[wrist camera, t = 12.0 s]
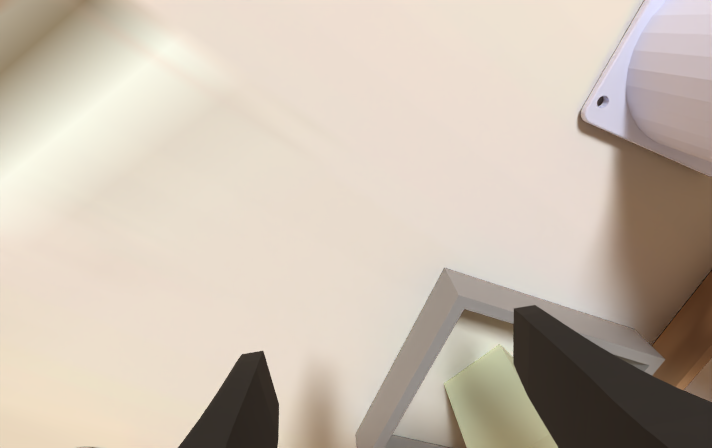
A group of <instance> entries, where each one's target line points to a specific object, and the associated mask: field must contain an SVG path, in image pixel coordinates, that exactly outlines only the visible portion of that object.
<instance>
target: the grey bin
mask: <svg viewBox="0 0 712 448" xmlns="http://www.w3.org/2000/svg"><path fill="white" fill-rule="evenodd" d="M531 305H536V306H537V307H539V308H541V309H542V310H544V311H545V312H547V313H548V314H550V315H551V316H553V317H554V318H556V319H557V320H559V321H560V322H562V323H563V324H565V325H567V326H568V327H570V328H571V329H573V330H574V331H576V332H577V333H579V334H580V335H582V336H584V337H585V338H587V339H588V340H590V341H591V342H593V343H595V344H596V345H598V346H600V347H601V348H603V349H605V350H606V351H608V352H610V353H611V354H613V355H615V356H617V357H618V358H620V359H622V360H624V361H626V362H627V363H629V364H631V365H633V366H635V367H636V368H638V369H640V370H642V371H644V372H646V373H648V374H650V375H653V374H654V373H655V372H656V370H657V369H658V368H659V367H660V366H661V364H662V363H663V362H664V361H665V358H663V357H662V356H661V355H660V354H659V353H658V352H657V351H656V350H655V349H654V348H653V347H652V346H651V345H650V344H649V343H648V342H647V341H646V340H645V339H644V338H643V337H642V336H641V335H640V334H639V333H638V332H637V331H636V330H635V329H632V328H629V327H626V326H623V325H620V324H616V323H613V322H610V321H607V320H604V319H601V318H598V317H595V316H592V315H589V314H586V313H583V312H579V311H576V310H573V309H570V308H567V307H564V306H561V305H558V304H555V303H552V302H549V301H545V300H542V299H539V298H536V297H533V296H530V295H527V294H524V293H521V292H518V291H515V290H512V289H508V288H505V287H502V286H499V285H496V284H493V283H490V282H487V281H484V280H481V279H478V278H474V277H471V276H468V275H465V274H462V273H459V272H456V271H453V270H450V269H447V268H444V270H443V272H442V273H441V275H440V277H439V279H438V281H437V283H436V285H435V287H434V288H433V290H432V292H431V294H430V296H429V298H428V300H427V302H426V303H425V305H424V307H423V309H422V311H421V313H420V315H419V317H418V318H417V320H416V322H415V324H414V326H413V328H412V330H411V332H410V333H409V335H408V337H407V339H406V341H405V343H404V345H403V347H402V348H401V350H400V352H399V354H398V356H397V358H396V360H395V362H394V363H393V365H392V367H391V369H390V371H389V373H388V375H387V377H386V378H385V380H384V382H383V384H382V386H381V388H380V390H379V391H378V393H377V395H376V397H375V399H374V401H373V403H372V405H371V406H370V408H369V410H368V412H367V414H366V416H365V418H364V420H363V421H362V423H361V425H360V427H359V429H358V431H357V433H356V445H357V448H448V447H444V446H439V445H435V444H430V443H426V442H421V441H417V440H412V439H408V438H404V437H399V436H395V435H392V434H393V432H394V430H395V429H396V427H397V425H398V423H399V422H400V420H401V418H402V416H403V415H404V413H405V411H406V409H407V408H408V406H409V404H410V402H411V401H412V399H413V397H414V396H415V394H416V392H417V390H418V389H419V387H420V385H421V383H422V382H423V380H424V378H425V376H426V375H427V373H428V371H429V369H430V368H431V366H432V364H433V363H434V361H435V359H436V357H437V356H438V354H439V352H440V350H441V349H442V347H443V345H444V343H445V342H446V340H447V338H448V336H449V335H450V333H451V331H452V329H453V328H454V326H455V324H456V323H457V321H458V319H459V317H460V316H461V314H462V312H463V310H464V309H466V310H469V311H472V312H476V313H479V314H482V315H486V316H489V317H492V318H495V319H499V320H502V321H505V322H509V323H512V324H514V308H519V307H525V306H531Z"/></svg>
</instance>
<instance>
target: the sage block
mask: <svg viewBox="0 0 712 448" xmlns="http://www.w3.org/2000/svg"><path fill="white" fill-rule="evenodd" d="M444 385H445V388H446V391H447V394H448V397H449V400H450V402H451V405H452V408H453V411H454V414H455V416H456V419H457V422H458V425H459V428H460V430H461V433H462V436H463V439H464V442H465V444H466V447H467V448H558V446H557V444H556V443H555V441H554V440H553V438H552V436H551V435H550V433H549V431H548V430H547V428H546V426H545V425H544V423H543V421H542V420H541V418H540V416H539V415H538V413H537V411H536V410H535V408H534V406H533V405H532V403H531V401H530V399H529V398H528V396H527V394H526V391H525V389H524V387H523V385H522V383H521V380H520V378H519V376H518V373H517V371H516V369H515V366H514V364H513V357H512V356H511V355H510V354H509V353H508V352H507V351H506V350H505V349H504V348H503V347H502V346H501V345H500V344H499V345H498V346H496V347H495V348H494V349H492V350H491V351H489V352H488V353H487V354H485V355H484V356H482V357H481V358H480V359H478V360H477V361H475V362H474V363H472V364H471V365H470V366H468V367H467V368H465V369H464V370H463V371H461V372H460V373H458V374H457V375H456V376H454V377H453V378H451V379H450V380H448V381H447V382H446V383H444Z"/></svg>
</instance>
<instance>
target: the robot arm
mask: <svg viewBox="0 0 712 448" xmlns="http://www.w3.org/2000/svg"><path fill="white" fill-rule="evenodd" d="M601 96H603V98H604V100H603V103H602V104H601V105H600V106H597V101H598V99H599V98H600V97H601ZM581 117H582V119H583V120H584V121H585V122H586V123H589V124H591V125H593V126H596V127H598V128H600V129H602V130H605V131H607V132H609V133H611V134H614V135H616V136H618V137H621V138H623V139H625V140H627V141H630V142H632V143H634V144H636V145H639V146H641V147H643V148H646V149H648V150H650V151H652V152H655V153H657V154H659V155H661V156H664V157H666V158H668V159H671V160H673V161H675V162H677V163H680V164H682V165H684V166H686V167H689V168H691V169H693V170H695V171H698V172H700V173H702V174H705V175H707V176H710V177H712V0H644V2H643V4H642V5H641V7H640V9H639V11H638V12H637V14H636V16H635V18H634V19H633V21H632V23H631V25H630V26H629V28H628V30H627V31H626V33H625V35H624V37H623V38H622V40H621V42H620V44H619V45H618V47H617V49H616V51H615V52H614V54H613V56H612V57H611V59H610V61H609V63H608V64H607V66H606V68H605V70H604V71H603V73H602V75H601V77H600V78H599V80H598V82H597V83H596V85H595V87H594V89H593V90H592V92H591V94H590V96H589V97H588V99H587V101H586V103H585V104H584V106H583V108H582V111H581ZM513 364H514V366H515V369H516V371H517V373H518V376H519V378H520V380H521V383H522V385H523V387H524V389H525V391H526V394H527V396H528V398H529V399H530V401H531V403H532V405H533V406H534V408H535V410H536V411H537V413H538V415H539V416H540V418H541V420H542V421H543V423H544V425H545V426H546V428H547V430H548V431H549V433H550V435H551V436H552V438H553V440H554V441H555V443H556V444H557V446H558V448H712V402H710V401H707V400H705V399H702V398H700V397H697V396H695V395H693V394H690V393H688V392H686V391H683V390H681V389H679V388H677V387H675V386H673V385H671V384H669V383H666V382H664V381H662V380H660V379H658V378H656V377H654V376H652V375H650V374H648V373H646V372H644V371H642V370H640V369H638V368H636V367H635V366H633V365H631V364H629V363H627V362H626V361H624V360H622V359H620V358H618V357H617V356H615V355H613V354H611V353H610V352H608V351H606V350H605V349H603V348H601V347H600V346H598V345H596V344H595V343H593V342H591V341H590V340H588V339H587V338H585V337H584V336H582V335H580V334H579V333H577V332H576V331H574V330H573V329H571V328H570V327H568V326H567V325H565V324H563V323H562V322H560V321H559V320H557V319H556V318H554V317H553V316H551V315H550V314H548V313H547V312H545V311H544V310H542V309H541V308H539V307H537V306H536V305H531V306H525V307H519V308H514V351H513ZM278 428H279V403H278V400H277V396H276V393H275V389H274V386H273V383H272V379H271V376H270V372H269V369H268V366H267V362H266V359H265V355H264V352H263V351H259V352H254V353H248V354H242V355H241V356H240V358H239V359H238V361H237V362H236V364H235V365H234V367H233V369H232V370H231V372H230V373H229V375H228V377H227V378H226V380H225V381H224V383H223V385H222V386H221V388H220V389H219V391H218V392H217V394H216V395H215V397H214V398H213V400H212V401H211V403H210V404H209V406H208V407H207V409H206V410H205V412H204V413H203V415H202V416H201V418H200V419H199V420H198V422H197V423H196V424H195V426H194V427H193V428H192V430H191V431H190V432H189V434H188V435H187V436H186V438H185V439H184V441H183V442H182V443H181V444H180V446H179V447H178V448H277V445H278Z"/></svg>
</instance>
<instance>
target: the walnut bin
mask: <svg viewBox="0 0 712 448" xmlns="http://www.w3.org/2000/svg"><path fill="white" fill-rule="evenodd" d="M652 347H653V348H654V349H655V350H656V351H657V352H658V353H659V354H660V355H661V356H662V357H663V358H665V361H664V362H663V363H662V364H661V366H660V367H659V368H658V369H657V370H656V372H655V373H654V374H653V375H652V376H654V377H656V378H658V379H660V380H662V381H664V382H666V383H669V384H671V385H673V386H675V387H677V388H679V389H681V390H684V389H685V388H686V387H687V386H688V384H689V383H690V382H691V381H692V380H693V379H694V377H695V376H696V375H697V374H698V373H699V372H700V370H701V369H702V368H703V367H704V366H705V365H706V364H707V362H708V361H709V360H710V359H711V358H712V271H711V272H710V273H709V275H708V276H707V277H706V278H705V280H704V281H703V282H702V283H701V285H700V286H699V287H698V288H697V290H696V291H695V292H694V294H693V295H692V296H691V297H690V299H689V300H688V301H687V302H686V304H685V305H684V306H683V307H682V309H681V310H680V311H679V312H678V314H677V315H676V316H675V318H674V319H673V320H672V321H671V323H670V324H669V325H668V326H667V328H666V329H665V330H664V331H663V333H662V334H661V335H660V336H659V338H658V339H657V340H656V342H655V343H654V344H653V345H652Z"/></svg>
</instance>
